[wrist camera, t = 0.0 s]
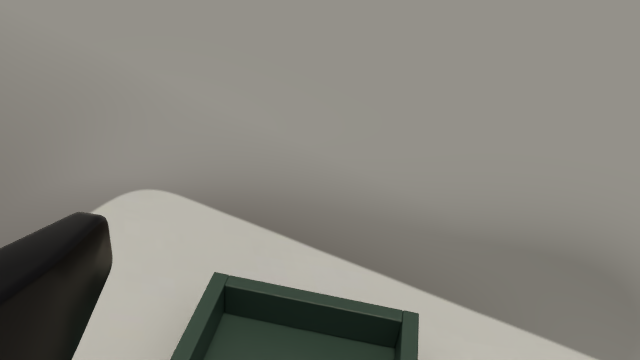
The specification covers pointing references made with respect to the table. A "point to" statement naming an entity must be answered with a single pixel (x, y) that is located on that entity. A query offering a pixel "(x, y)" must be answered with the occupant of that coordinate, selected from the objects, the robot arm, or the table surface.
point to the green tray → (292, 326)
